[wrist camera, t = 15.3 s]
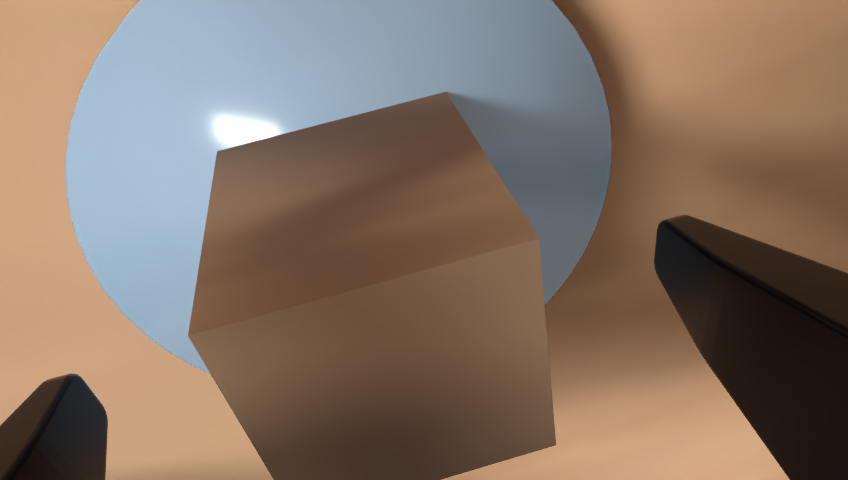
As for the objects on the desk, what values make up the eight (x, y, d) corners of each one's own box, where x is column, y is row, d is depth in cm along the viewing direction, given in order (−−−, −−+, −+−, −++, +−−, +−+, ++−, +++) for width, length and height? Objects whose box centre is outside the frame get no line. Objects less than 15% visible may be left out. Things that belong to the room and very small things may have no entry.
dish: (540, 339, 16) (557, 371, 15) (142, 379, 14) (133, 420, 13) (641, -76, 11) (678, -66, 10) (4, -109, 9) (-29, -100, 8)
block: (446, 91, 10) (538, 239, 7) (475, 267, 13) (556, 444, 9) (217, 151, 10) (187, 335, 7) (290, 318, 13) (298, 521, 9)
